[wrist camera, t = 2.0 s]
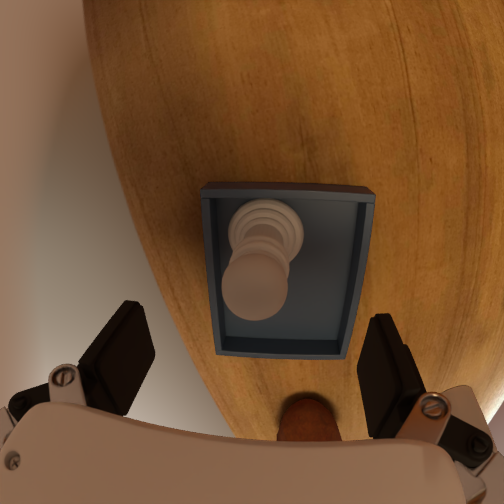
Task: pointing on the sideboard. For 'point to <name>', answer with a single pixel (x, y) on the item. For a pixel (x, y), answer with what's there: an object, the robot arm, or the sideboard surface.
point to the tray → (294, 269)
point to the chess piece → (260, 257)
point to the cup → (467, 408)
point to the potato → (308, 423)
